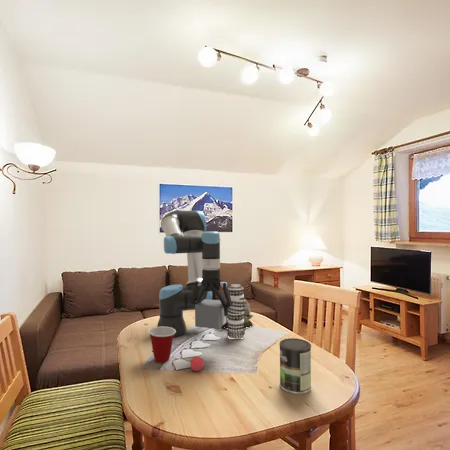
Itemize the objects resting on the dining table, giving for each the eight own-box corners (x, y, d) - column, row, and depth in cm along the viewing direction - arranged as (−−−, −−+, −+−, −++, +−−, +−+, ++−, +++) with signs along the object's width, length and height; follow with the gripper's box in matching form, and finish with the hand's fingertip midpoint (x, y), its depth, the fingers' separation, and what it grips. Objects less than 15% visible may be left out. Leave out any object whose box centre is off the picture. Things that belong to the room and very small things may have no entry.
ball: (193, 366, 120) (193, 353, 120) (205, 368, 118) (205, 355, 118) (187, 372, 115) (187, 358, 115) (200, 374, 113) (200, 360, 113)
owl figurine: (223, 331, 160) (223, 297, 160) (217, 324, 171) (216, 293, 171) (256, 327, 165) (255, 294, 165) (247, 321, 176) (247, 290, 177)
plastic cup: (170, 366, 120) (170, 335, 120) (144, 364, 122) (143, 333, 122) (180, 355, 130) (179, 326, 130) (155, 353, 132) (155, 325, 132)
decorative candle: (241, 332, 157) (240, 282, 157) (248, 338, 148) (247, 285, 148) (224, 334, 154) (223, 283, 154) (230, 341, 145) (229, 287, 145)
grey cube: (205, 319, 137) (205, 299, 137) (227, 321, 133) (227, 300, 133) (195, 326, 127) (195, 304, 127) (218, 329, 124) (218, 306, 124)
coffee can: (284, 395, 99) (284, 350, 99) (276, 379, 109) (276, 338, 109) (316, 393, 100) (315, 349, 100) (305, 377, 110) (304, 337, 110)
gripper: (182, 268, 131) (182, 322, 131) (234, 271, 123) (234, 327, 123) (190, 266, 138) (190, 317, 138) (240, 268, 130) (240, 322, 130)
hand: (211, 322), depth 130 cm, fingers closed on grey cube, 10 cm apart
